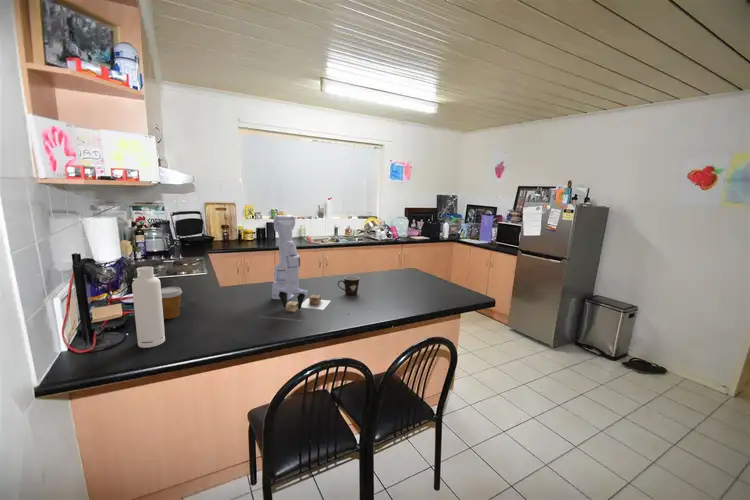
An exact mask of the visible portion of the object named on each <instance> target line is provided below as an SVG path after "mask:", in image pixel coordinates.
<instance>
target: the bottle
mask: <svg viewBox="0 0 750 500" xmlns="http://www.w3.org/2000/svg"><path fill="white" fill-rule="evenodd" d="M136 272H137V276H136V277H137V278H135V279H134V280H133V281H132V283H131V289H132V290H131V291H132V299H133V310H134V321H135V327H136V330H135V331H136V338H137V346H138V347H139V348H143V349H145V348H153V347H157V346H159V345H161V344H163V343H164V342H166V336H165V323H164V322H165V321H164V320H165V319H164V318H163V308H162V296H161V289H162V286H161V280H160V278H158V277H157V276H155V273H154V267H153V266H140V267H137V268H136Z"/></svg>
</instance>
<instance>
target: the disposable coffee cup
mask: <svg viewBox="0 0 750 500" xmlns="http://www.w3.org/2000/svg"><path fill="white" fill-rule="evenodd" d="M182 294H183V290H182V288H181V287H179V286H168V287H161V296H162V308H163V319H164V320H166V319H167V320H171V319H175V318H177V317H179V316H180V312H181V299H182Z"/></svg>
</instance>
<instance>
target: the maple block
mask: <svg viewBox="0 0 750 500" xmlns="http://www.w3.org/2000/svg"><path fill="white" fill-rule="evenodd" d="M297 310H299V309H298V301H294V300H293V301H291V300H288V302H287V304H286V307H285V311H286V312H292V313H295V312H296V311H297Z"/></svg>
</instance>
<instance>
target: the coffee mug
mask: <svg viewBox="0 0 750 500" xmlns="http://www.w3.org/2000/svg"><path fill="white" fill-rule="evenodd" d="M340 283H343V284H344V288H343V287H341V286H340V285H339V284H340ZM359 283H360V277H359V276H355V275H347V276H346V275H345V276H344V278H343V280H339V281H338V282H337V286H338V288H339V289H341V290H343V291H344V293H345V295H346V296H348V297H354V296H357V295H358V291H359Z"/></svg>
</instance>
